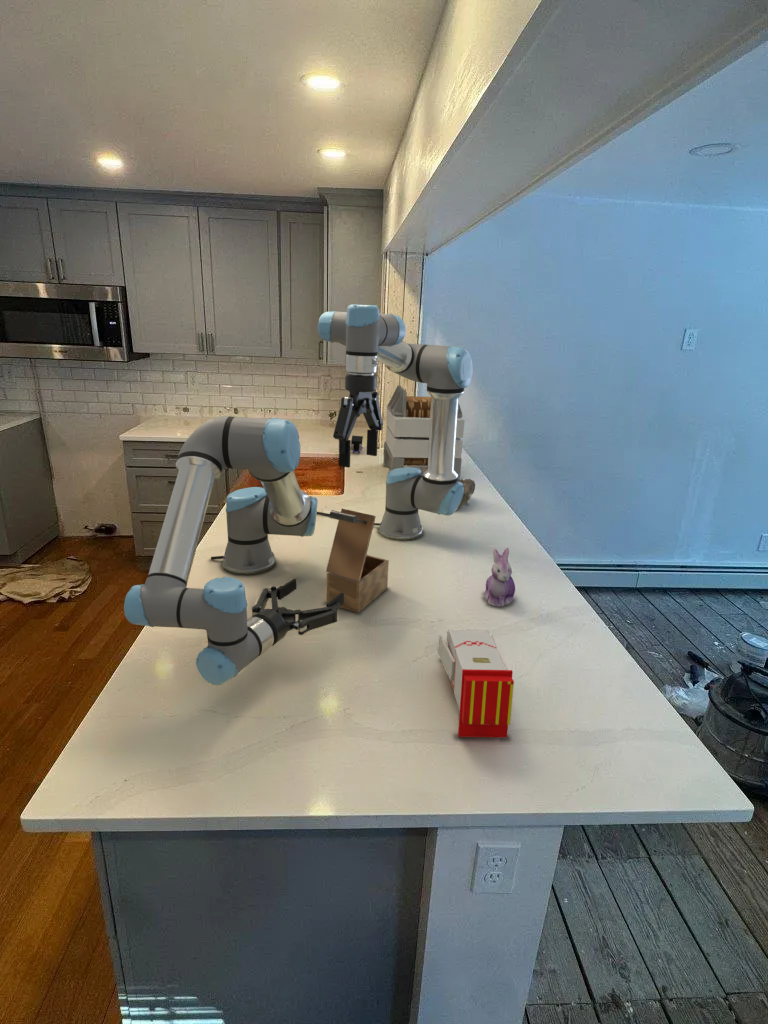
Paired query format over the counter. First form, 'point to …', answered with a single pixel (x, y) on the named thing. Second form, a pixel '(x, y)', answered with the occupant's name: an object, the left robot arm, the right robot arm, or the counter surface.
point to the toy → (478, 682)
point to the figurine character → (356, 443)
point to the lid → (350, 543)
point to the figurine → (500, 581)
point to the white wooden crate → (413, 432)
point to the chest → (360, 585)
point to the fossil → (466, 490)
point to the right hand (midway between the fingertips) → (358, 460)
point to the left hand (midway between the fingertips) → (318, 590)
